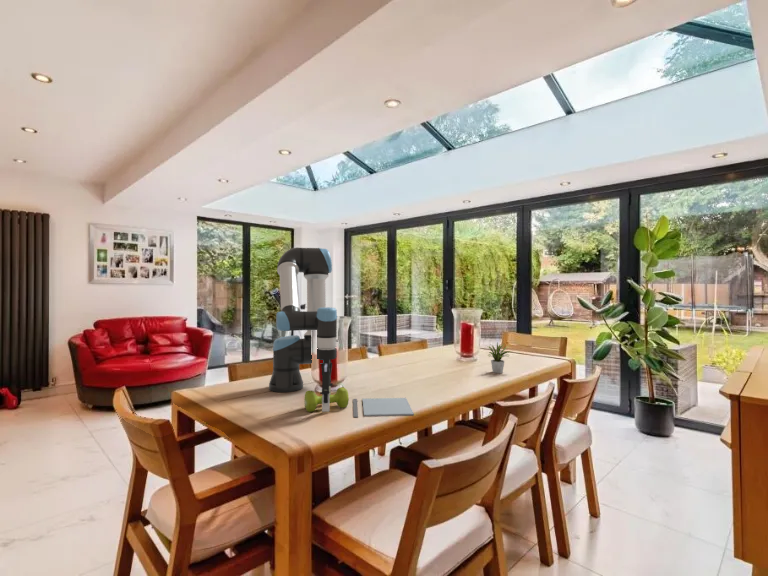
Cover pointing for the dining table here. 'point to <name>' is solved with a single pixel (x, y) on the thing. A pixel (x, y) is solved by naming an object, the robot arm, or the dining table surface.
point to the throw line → (355, 408)
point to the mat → (386, 407)
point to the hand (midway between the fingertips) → (326, 407)
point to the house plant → (497, 358)
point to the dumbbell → (340, 398)
